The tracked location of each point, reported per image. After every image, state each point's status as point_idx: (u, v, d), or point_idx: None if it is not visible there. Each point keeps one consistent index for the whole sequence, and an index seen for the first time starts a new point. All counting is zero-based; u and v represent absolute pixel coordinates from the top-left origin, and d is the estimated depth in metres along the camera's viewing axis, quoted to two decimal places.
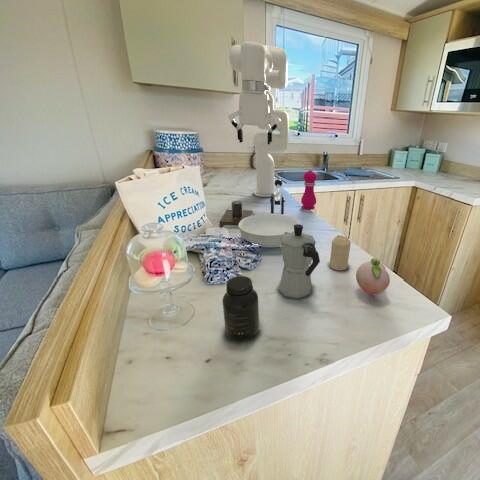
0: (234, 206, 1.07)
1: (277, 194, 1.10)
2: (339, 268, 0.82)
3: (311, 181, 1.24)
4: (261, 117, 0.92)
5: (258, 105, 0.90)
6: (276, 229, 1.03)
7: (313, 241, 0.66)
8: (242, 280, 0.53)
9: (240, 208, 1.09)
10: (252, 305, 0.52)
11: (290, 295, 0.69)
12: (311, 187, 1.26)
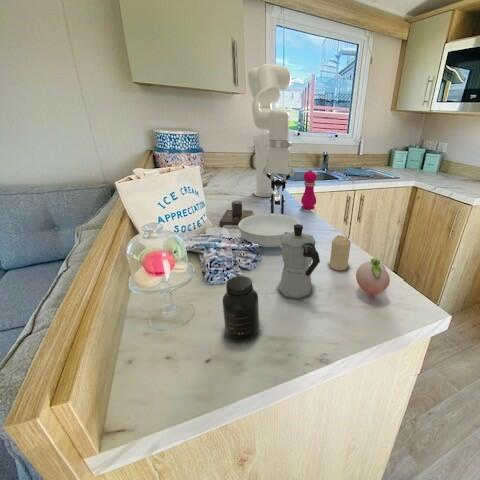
0: (234, 206, 1.07)
1: (277, 194, 1.10)
2: (339, 268, 0.82)
3: (311, 181, 1.24)
4: (284, 167, 1.10)
5: (282, 158, 1.09)
6: (276, 229, 1.03)
7: (313, 241, 0.66)
8: (242, 280, 0.53)
9: (240, 208, 1.09)
10: (252, 305, 0.52)
11: (290, 295, 0.69)
12: (311, 187, 1.26)
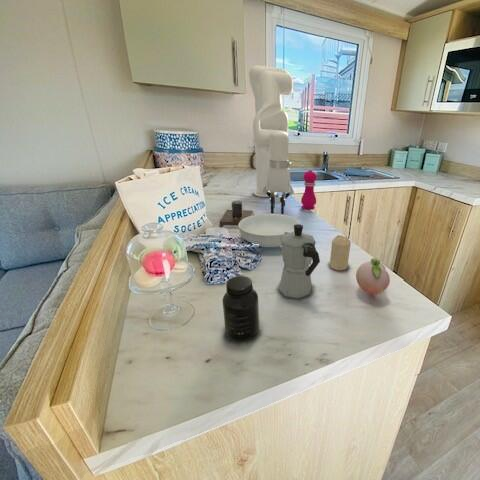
0: (234, 206, 1.07)
1: None
2: (339, 268, 0.82)
3: (311, 181, 1.24)
4: (284, 186, 1.14)
5: (281, 177, 1.12)
6: (276, 229, 1.03)
7: (313, 241, 0.66)
8: (242, 280, 0.53)
9: (240, 208, 1.09)
10: (252, 305, 0.52)
11: (290, 295, 0.69)
12: (311, 187, 1.26)
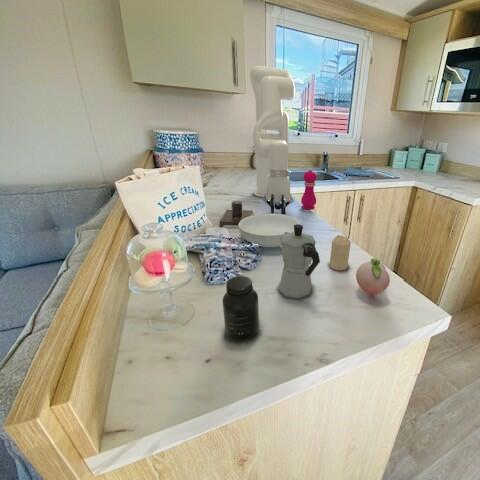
0: (234, 206, 1.07)
1: None
2: (339, 268, 0.82)
3: (311, 181, 1.24)
4: (284, 195, 1.15)
5: (281, 186, 1.13)
6: (276, 229, 1.03)
7: (313, 241, 0.66)
8: (242, 280, 0.53)
9: (240, 208, 1.09)
10: (252, 305, 0.52)
11: (290, 295, 0.69)
12: (311, 187, 1.26)
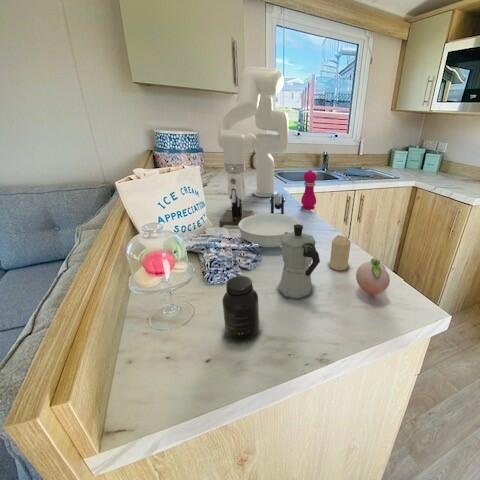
0: None
1: None
2: (339, 268, 0.82)
3: (311, 181, 1.24)
4: None
5: None
6: (276, 229, 1.03)
7: (313, 241, 0.66)
8: (242, 280, 0.53)
9: (240, 208, 1.09)
10: (252, 305, 0.52)
11: (290, 295, 0.69)
12: (311, 187, 1.26)
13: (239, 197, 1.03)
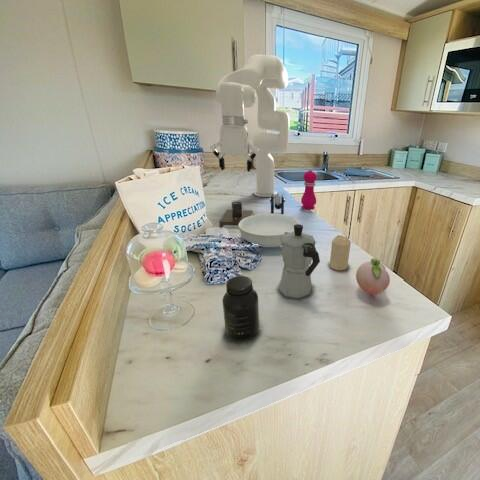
0: (241, 205, 1.09)
1: None
2: (339, 268, 0.82)
3: (311, 181, 1.24)
4: (240, 148, 1.00)
5: (237, 137, 0.98)
6: (276, 229, 1.03)
7: (313, 241, 0.66)
8: (242, 280, 0.53)
9: None
10: (252, 305, 0.52)
11: (290, 295, 0.69)
12: (311, 187, 1.26)
13: None
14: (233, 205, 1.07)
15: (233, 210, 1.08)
